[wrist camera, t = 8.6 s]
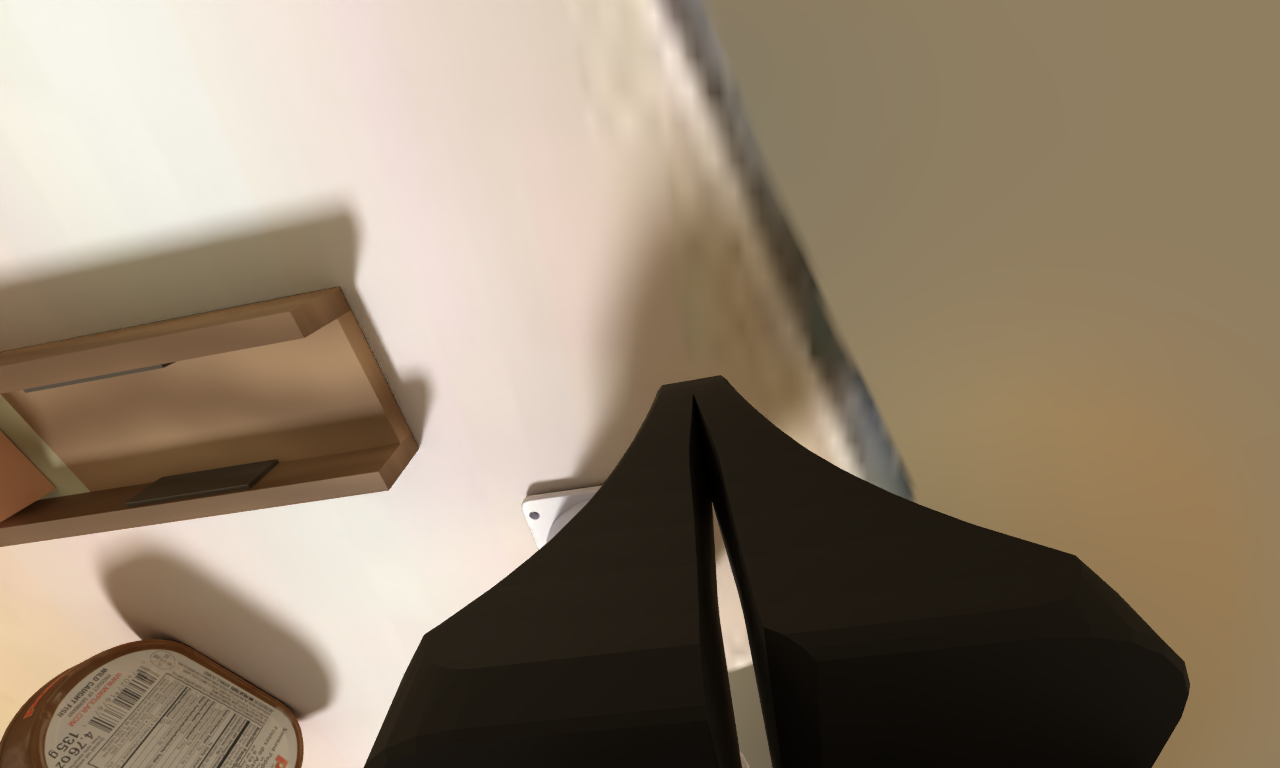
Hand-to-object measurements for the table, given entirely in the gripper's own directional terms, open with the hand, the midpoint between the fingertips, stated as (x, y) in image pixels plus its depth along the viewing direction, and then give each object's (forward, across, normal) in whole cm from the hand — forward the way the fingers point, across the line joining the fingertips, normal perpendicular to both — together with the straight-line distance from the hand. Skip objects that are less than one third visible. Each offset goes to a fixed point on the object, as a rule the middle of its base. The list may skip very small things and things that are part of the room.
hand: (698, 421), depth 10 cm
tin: (+10, +34, +21) cm, 41 cm away
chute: (+10, +25, +1) cm, 27 cm away
